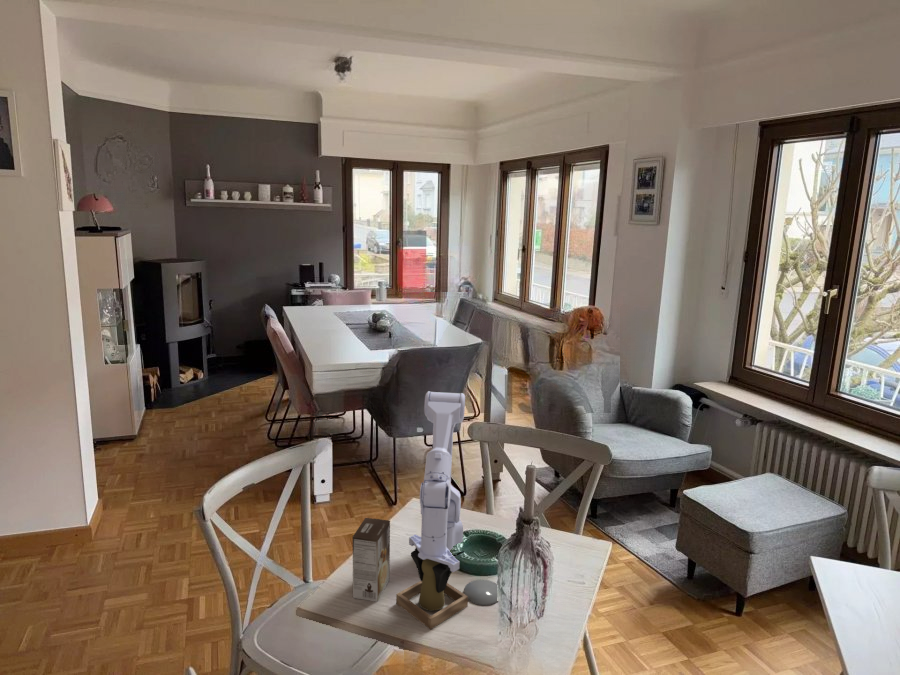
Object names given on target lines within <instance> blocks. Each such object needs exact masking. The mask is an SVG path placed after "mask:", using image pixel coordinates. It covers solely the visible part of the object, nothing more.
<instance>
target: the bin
mask: <svg viewBox="0 0 900 675" xmlns="http://www.w3.org/2000/svg"><path fill="white" fill-rule="evenodd" d="M421 586H422V581H420V580H419V581H417V582H415V584H412V585H411V586H409V587H406V588H405V589H403V590H402V591H401V590H400V591H399V592H397V593H396V594H395V595H396V596H395V597H396V598H395V600H396V603H395V604H396V605H397V606H399V607H400V608H401V609H402V610H404V611H405V612H407V613H408V614H409V615H411V616H412V617H414V619H416V620H417V621H419V622H420V623H421V624H423V625H424V626H426V627H427V628H428V629H429V630H433V629H434V628H435V627H436V626H438V625H440V624H442V623H444V622H445V621H447V620H448V619H450V618H451V617H453V616H454V615H456V614H458V613H459V612H460V611H462V610H464V609H465V608H466V607H468V605H469V602H468V601H469V600H468V596H466V595H465V594H464V592H462V591H460V590H459V589H457V588H455V587H454V586H453V585H451V584H450V583H448V582H447V585H446V588H445V590H444V595H445V596H447V597H449V598H450V599H451V600H453V602H451V603H450V604H448V605H446V606H445V607H442V608H441V609H439V611H438V610H437V612H435V613H434V614H432V615H431V614H429V613H428V612H427V611H425V609H423V608H422V607H420V606H418V605H416V604H415V602H412V601H411V600H410V599H412V598H414V597H416V596H418V595H420V591H421Z"/></svg>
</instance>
